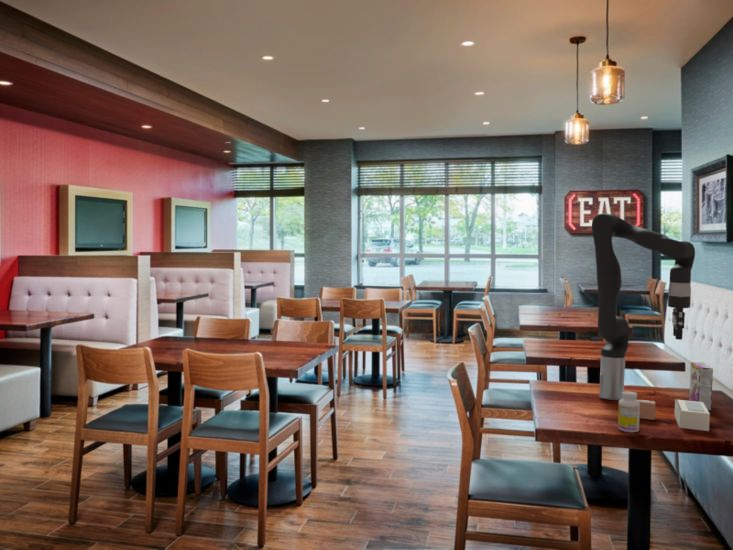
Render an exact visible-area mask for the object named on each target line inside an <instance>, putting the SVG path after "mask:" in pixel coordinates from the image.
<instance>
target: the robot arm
mask: <svg viewBox="0 0 733 550" xmlns="http://www.w3.org/2000/svg"><path fill="white" fill-rule="evenodd" d="M591 232H592V238H593V243H594V244H593V245H594V250H595V264H596V282H597V284H596V285H597V298H598V310H597V311H598V315H597V317H598V318H597V331H598V333H599V336H600V337H601V338H602V339H603V340H606V343H605V345H603V346H602V348H601V349H600V373H599V398H600V399H605V400H611V401H619V400H620V399H622V398H623V397H622V392H623V391H625V375H626V372H625V371H626V353H627V351H628V349H629V348H628V347H629V339H630V327H629V326H630V325H629V322H628V321H627V319H625V318H624V317H622V316H616V315H617V313H616V304H617V300H618V297H619V294H620V291H621V288H622V282H623V281H622V270H621V265H620V262H619V260H618V257H617V256H616V255H617V254H615V251H614V249H613V248H614V247H613V237H616V238H621V239H624V240H625V239H626V240H629V241H630V242H633V243H634V244H636V245H638V246H640V247H642V248H644V249H647V250H649V251H653V252H656V253H658V254H659V253H660V255H663V256H665V257H667V258H668V259H672V260H674V266H672V267H671V268H670V270H669V283H668V291H667V293H668V294H667V306H668V307H669V308H671V309H672V308H673V309H672V313H671V315H672V317H671V318H672V319H671V322H672V327H673V331H672V335H673V336H674V337H675V340H681V341H682V340H683V335H684V334H683V331H684V328H685V317H686V312H684V309H690V308H691V301H692V300H691V299H692V297H691V296H692V286H691V283H692V281H691V280H692V279H691V278H692V268H693V265H694V262H695V256H696V250H695V249H696V248H695V247H694V245H693V243H692V242H690V241H685V240H684V241H683V240H681V241H680V240H675V239H673V238H669V237H668V236H667V235H666V234H663V233H659V232H656V231H653V230H650V229H647V228H644V227H640V226H638V225H635V224H633V223H630V222H628V221H626V220H624V219H622V218H621V217H619V216H616V215H615V214H613V213H610V214H609V213H598V214H596V215H595V216H594V218H593V219H592V222H591Z"/></svg>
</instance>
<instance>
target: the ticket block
mask: <svg viewBox="0 0 733 550" xmlns="http://www.w3.org/2000/svg"><path fill="white" fill-rule="evenodd" d="M710 416H711V413H710V412H709V410H707V408H706V407H705V405H704V403H703V402H696V401H689V400H683V399H674V418H675V420H676V423H677V425H678V428H679V429H686V430H687V429H689V430H697V431H706V432H709V431H710V418H711V417H710Z"/></svg>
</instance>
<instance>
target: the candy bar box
mask: <svg viewBox="0 0 733 550" xmlns="http://www.w3.org/2000/svg"><path fill="white" fill-rule="evenodd" d="M713 373H714V369H713V367H711V366H709V365H707V364H706V363H704V362H697V361H696V362H694V361H691V362H690V373H689V374H690V375H689V376H690V377H689V380H690V381H689V400H688V401H696V402H703V403H704V405H705V407H706V408H707V410H708V411H712V403H713V401H712V400H713V399H712V398H713V375H714V374H713Z"/></svg>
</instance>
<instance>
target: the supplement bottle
mask: <svg viewBox="0 0 733 550" xmlns="http://www.w3.org/2000/svg"><path fill="white" fill-rule="evenodd" d="M622 397H623V398H622V399H620V400H618V407H617V409H618V410H617V411H618V412H617V429H618V430H620V431H622V432H623V433H624V432H625V433H638V432H639V430H640V418H639V416H640V403H639V401H637V400H638V399H637V397H638V393H637V392H635V391H630V390H628V391H627V390H624V391H623V392H622ZM636 399H637V400H636Z"/></svg>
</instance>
